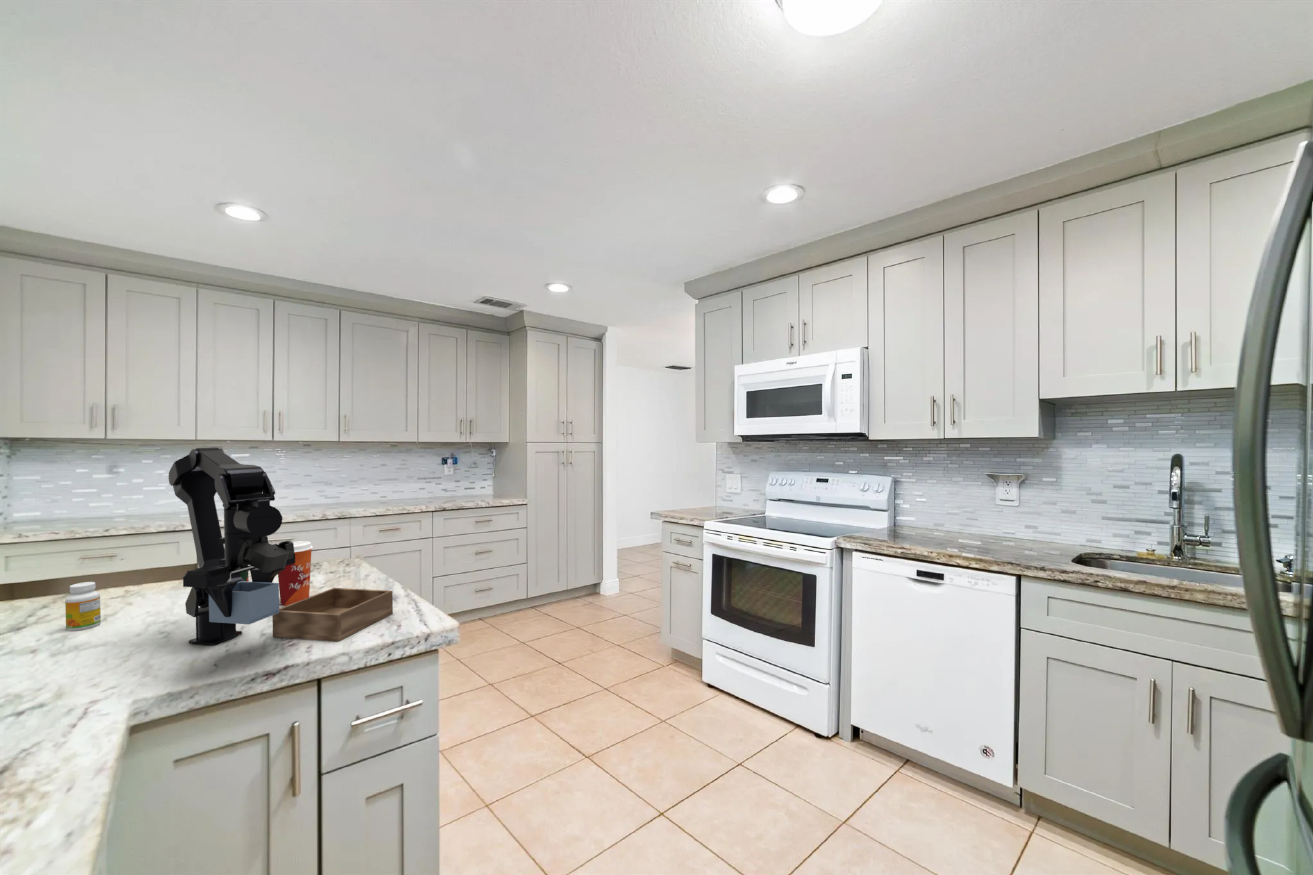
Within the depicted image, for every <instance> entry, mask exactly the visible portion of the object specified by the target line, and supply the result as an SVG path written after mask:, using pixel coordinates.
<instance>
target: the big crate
mask: <svg viewBox="0 0 1313 875" xmlns="http://www.w3.org/2000/svg"><path fill="white" fill-rule="evenodd" d="M393 599H394V598H393V590H384V589H383V590H382V589H381V590H380V589H366V588H365V589H364V588H363V589H362V588H347V587H346V588H345V587H342V588H341V587H332V588H329V589H327V590H325V591H322V592H319V593H317V594H314V595H311V596H309V597H308V598H306V599H303V600H300V601H298V602H295V603H293V604H290V605H287V606H283V607H279V613H278V614H275V615H272V616H271V617H272V638H285V639H297V640H310V641H311V640H313V641H314V640H315V641H327V642H341V641H342V640H344V639H346V638H349V637H350V636H351V635H354V634H356V633H358V632H360V631H362V630H363V629H366V628H367V627H370V626H372V625H374V624H376V623H377V622H379V621H381V620H384V619H385V618H387V617H390V616H391V615H393V613H394V609H393V608H394V606H393V604H394V603H393V602H394V601H393Z"/></svg>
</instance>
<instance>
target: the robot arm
mask: <svg viewBox="0 0 1313 875" xmlns="http://www.w3.org/2000/svg"><path fill="white" fill-rule="evenodd" d="M168 482H169V485H170V486H172V487H173V488H172V489H173V492H174V495H175V496H176V497H177V498H178V499H179V500H180V501H182V502H183V503H184V504H185V505H186V506H187V512H188V515H189V522H190V527H191V532H192V537H193V542H194V547H195V552H196V558H197V563H198V568H194V569H189V570H187V571H186V572H185V573H184V575H183V577H182V587H184V588H191V589H190V590H189V593H188V596H187V598H186V600H185V612H186V614H187V615H189V616H191V617H193V618H195V638H192V639H190V640H188V644H192V645H193V644H195V645H206V646H207V645H208V646H214V645H218V644H221V643H222V642H225V641H228V640H230V639H233V638H235V637H237V636H239V635H242V634H243V631H242V630H237V624H233V623H218V622H209V595H210V596H211V598H212V599H213V600H214V602H215V603H216V605H217V606H218V608H219V609H220V611H221V612H222V614H223V615H224V617H231V613H232V589H233V588H234V587H235V585H236V584H237V582H240V581H244V579H243V578H241V575H240V573H241V572H245V571H248V572H250V573H249V574H250V577H251V582H268V583H274V579H275V578H276V576H278V574H279V573H280V572H281V571H282V570H284V569H285V568H286V567H285V566H287V565H290V564H293V563H295V554H294V545H293V542H294V541H291V540H284V541H281V542H279V543H274V544H271V543H269V537H268V536H271V535H273V534H275V533H276V532H277V531H279V529H280V528H281V526H282V525H283V524H282V523H283V516H282V513H281V512H280V510H279V509H278V508H276V507H275V506H272V505H271V502H273V501H275V500H276V497H275V495H276V490H275V487H274V486H273V484H272V481H271V480H270V478H269V476H268V474H267V472H266V471H265V470H264V468H262V467H261V466H258V465H255V464H244V463H240V462H239V461H236V460H235V459H234V458H233V457H231V456H229V455H228V454H226V453H225V451H224V449H223V448H219V447H218V446H217V447H215V446H214V447H196V448H193V449H191V450H190V452H189V453H188V454H187V455H185V456H183V457H181V458H179V459H177V460H175V461H174V462H173V464H172V466H171V467H170V470H169V472H168ZM216 494H217V495H218V497H219V499H220V500H221V503H222V508H223V527H224V529H223V532H224V534H223V535H224V537H223V535H222V530H221V524H220V520H219V515H218V510H217V505H216V501H215V496H216Z"/></svg>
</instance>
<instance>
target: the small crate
mask: <svg viewBox="0 0 1313 875" xmlns="http://www.w3.org/2000/svg"><path fill="white" fill-rule="evenodd" d="M279 608H280V591H279V582H272V583H268V582H252V581H249V582H248V581H240V582H237V584H236V585H235V587H234V588H233V589H232V613H231V617H224V615H223V614H222V612H221V611H220V609H219V608H218V606H217V605H216V603H215V602H214V600H213V599H212V598H211V596H210V595H209V622H218V623H233V624H236V625H251V624H254V623H257V622H259V621H261V620H264V619H267V618H269V617H272V615H275V614H278V613H279Z"/></svg>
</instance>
